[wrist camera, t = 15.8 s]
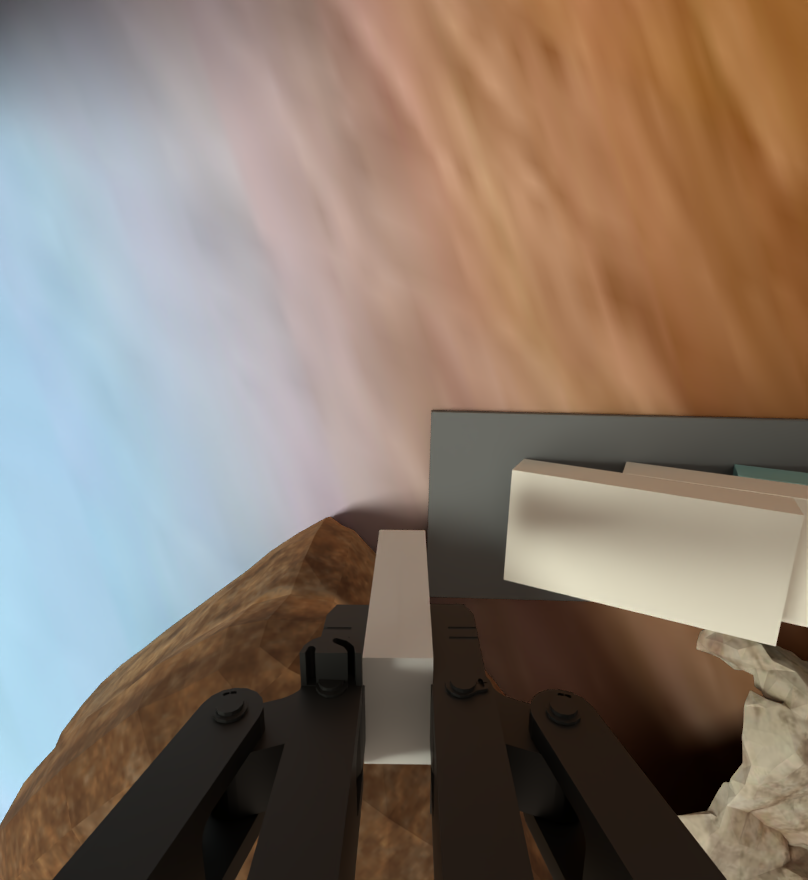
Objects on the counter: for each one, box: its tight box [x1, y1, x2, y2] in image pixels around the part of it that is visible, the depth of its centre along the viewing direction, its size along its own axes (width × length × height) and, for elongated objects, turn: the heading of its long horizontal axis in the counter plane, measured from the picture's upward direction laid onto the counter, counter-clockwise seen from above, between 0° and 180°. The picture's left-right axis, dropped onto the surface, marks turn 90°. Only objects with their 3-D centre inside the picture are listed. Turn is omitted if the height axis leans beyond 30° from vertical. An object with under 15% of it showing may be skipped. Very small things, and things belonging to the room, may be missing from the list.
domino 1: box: [504, 459, 804, 646], centre depth 22 cm, size 2×5×10 cm
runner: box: [427, 410, 808, 601], centre depth 25 cm, size 24×9×1 cm, turn 89°
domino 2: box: [623, 462, 808, 627], centre depth 22 cm, size 2×5×10 cm
